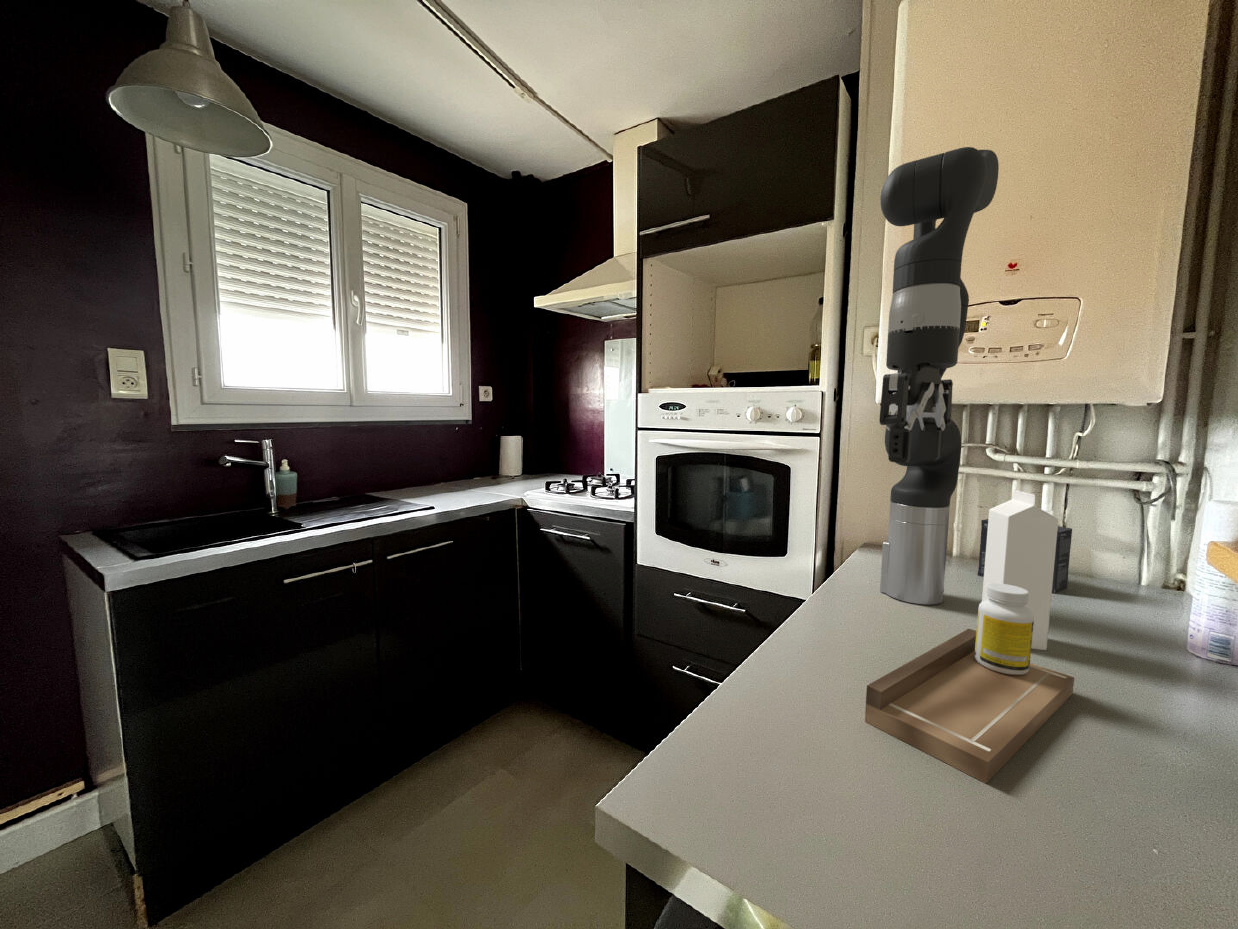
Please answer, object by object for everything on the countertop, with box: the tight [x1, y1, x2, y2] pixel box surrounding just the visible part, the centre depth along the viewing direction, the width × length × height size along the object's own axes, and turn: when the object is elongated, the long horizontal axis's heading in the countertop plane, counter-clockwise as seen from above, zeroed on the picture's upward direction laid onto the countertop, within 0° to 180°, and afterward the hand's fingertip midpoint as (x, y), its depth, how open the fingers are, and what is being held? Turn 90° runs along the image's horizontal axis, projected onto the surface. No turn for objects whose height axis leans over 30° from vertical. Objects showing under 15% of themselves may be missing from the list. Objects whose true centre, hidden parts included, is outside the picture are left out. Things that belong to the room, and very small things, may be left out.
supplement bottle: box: [975, 583, 1034, 675], centre depth 61 cm, size 5×5×10 cm
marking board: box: [864, 628, 1075, 784], centre depth 56 cm, size 11×26×4 cm, turn 125°
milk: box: [981, 489, 1059, 651], centre depth 73 cm, size 6×6×22 cm
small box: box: [977, 518, 1073, 594], centre depth 100 cm, size 13×7×12 cm, turn 32°
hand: (914, 460), depth 62 cm, fingers open, 8 cm apart
